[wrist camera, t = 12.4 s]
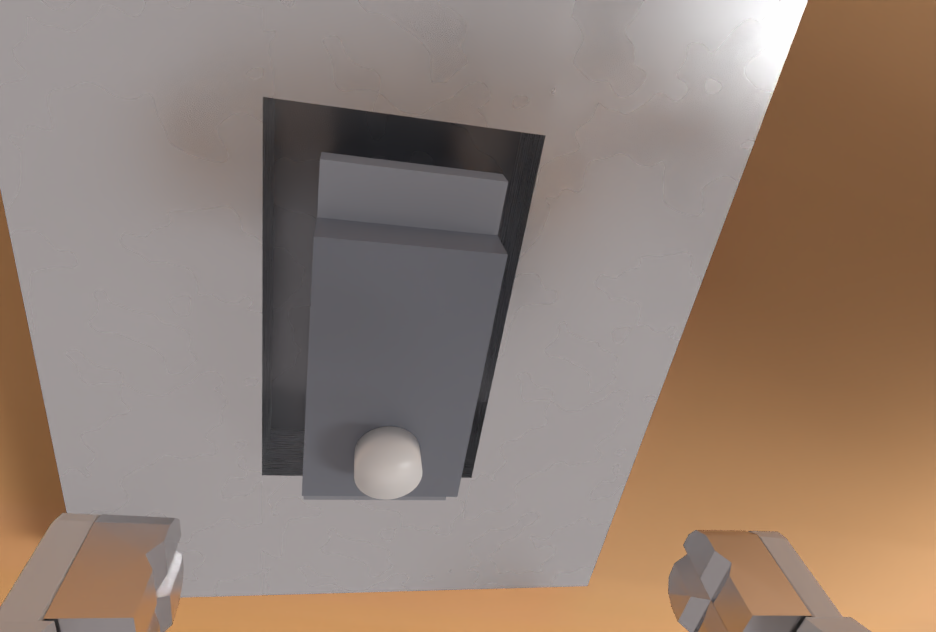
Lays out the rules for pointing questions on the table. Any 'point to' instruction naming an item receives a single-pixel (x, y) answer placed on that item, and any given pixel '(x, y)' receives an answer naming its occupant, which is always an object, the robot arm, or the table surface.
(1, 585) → the table surface
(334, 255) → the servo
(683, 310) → the chassis
